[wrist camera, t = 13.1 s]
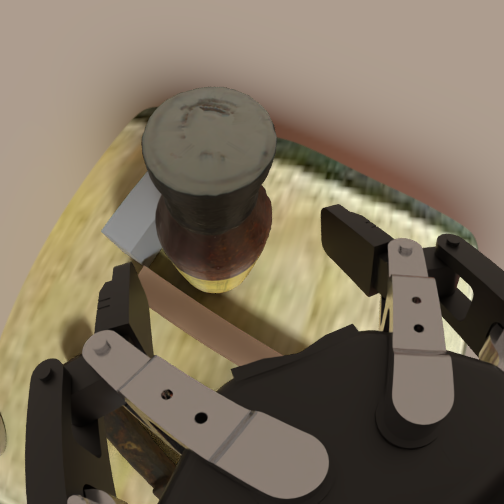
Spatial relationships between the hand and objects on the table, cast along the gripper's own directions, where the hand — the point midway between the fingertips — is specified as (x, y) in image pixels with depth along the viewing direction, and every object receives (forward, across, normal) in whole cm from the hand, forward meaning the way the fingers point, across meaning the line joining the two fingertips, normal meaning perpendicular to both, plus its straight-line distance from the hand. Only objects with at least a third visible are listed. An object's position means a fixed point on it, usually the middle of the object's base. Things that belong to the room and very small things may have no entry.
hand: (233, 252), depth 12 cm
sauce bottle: (+13, 0, +9) cm, 16 cm away
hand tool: (+3, +11, +19) cm, 22 cm away
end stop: (+16, +4, +5) cm, 17 cm away
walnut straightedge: (+6, -1, +15) cm, 16 cm away
